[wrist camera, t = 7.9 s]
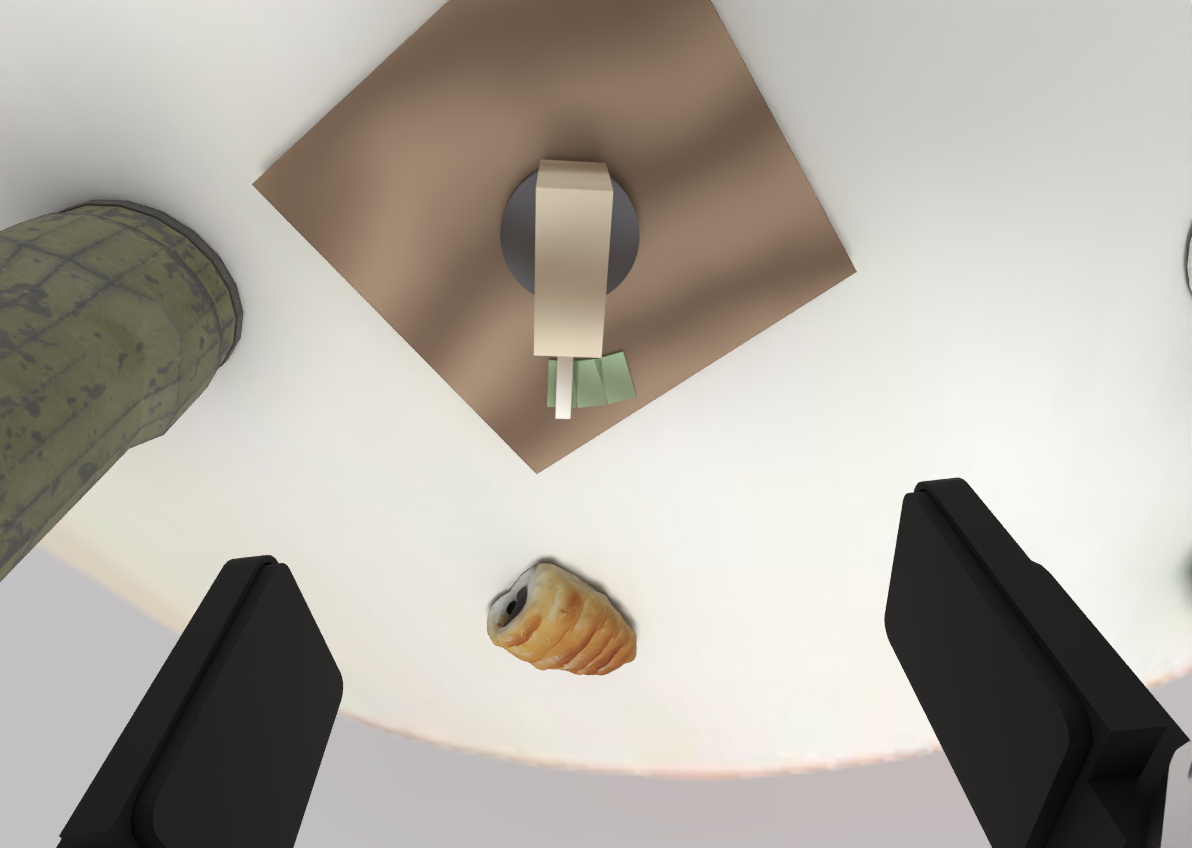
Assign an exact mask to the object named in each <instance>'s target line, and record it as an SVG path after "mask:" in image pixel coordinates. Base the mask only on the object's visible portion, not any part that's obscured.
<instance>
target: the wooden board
mask: <svg viewBox="0 0 1192 848" xmlns="http://www.w3.org/2000/svg"><path fill="white" fill-rule="evenodd" d="M540 159H543V160H561V161H579V162H597V163H606V164H607V168H608V172H609V175H610V176H612V177H613V178H614V179H615V180H616V181H617V182H618V183H619V184H620V185H621V186H622V187H623V189H624V190H625V191H626V193H627V194H628V196H629V198H630V200H631V202H632V205H633V207H634V210H635V213H636V216H637V220H638V224H639V234H640V235H639V248H638V253H637V256H636V260H635V262H634V264H633V267H632V269H631V270H630V272H629V274H628V275H627V277H626V278H625V279H624V280H623V282H622V283H621V284H620V285H619V286H618V287H617V288H616V289H614V290H613V291H612V292H610V293H609V294H607V295H606V302H605V316H604V330H603V344H602V358H591V357H573V374H572V395H571V416H570V419H555V416H556V385H557V356H536V355H534V302H535V295H533V294H532V293H530V292H529V291H527V290H526V289H525V288H524V287H523V286H522V285H521V284H520V283H519V282H518V281H517V280H516V279H515V278H514V276H513V275H512V273H511V272H510V270H509V268H508V266H507V264H506V262H505V259H504V256H503V253H502V249H501V242H500V228H501V222H502V217H503V214H504V210H505V207H506V204H507V202H508V200H509V198H510V196H511V194H512V192H513V191H514V189H515V188H516V187H517V186H518V184H519V183H520V182H521V181H522V180H523V179H524V178H525V177H527V176H528V175H529V174H531V173H532V172H534V171H535V170H537V169H539V164H540ZM252 185H253V186H254V187H255V188H256V189H257V190H258V191H259V192H260V193H261V194H262V195H263V196H264V197H265V198H266V199H267V200H268V201H269V202H270V203H271V204H272V205H273V206H274V207H275V208H276V209H277V210H278V211H279V212H280V214H281V215H282V216H283V217H284V218H285V219H286V220H287V221H288V222H289V223H290V224H291V225H292V226H293V227H294V228H295V229H296V230H297V231H298V232H299V233H300V234H301V235H302V236H303V237H304V238H305V239H306V240H307V241H308V242H309V243H310V244H311V245H312V246H313V247H314V248H315V249H316V250H317V251H318V252H319V253H320V254H321V255H322V256H323V257H324V258H325V259H326V260H327V261H328V262H329V263H330V264H331V265H332V266H333V267H334V268H335V269H336V270H337V271H338V273H339V274H340V275H341V276H342V277H343V278H344V279H345V280H346V281H347V282H348V283H349V284H350V285H351V286H352V287H353V288H354V289H355V290H356V291H357V292H358V293H359V294H360V295H361V296H362V297H363V298H364V299H365V300H366V301H367V302H368V303H369V304H370V305H371V306H372V307H373V308H374V309H375V310H376V311H377V312H378V313H379V314H380V315H381V316H382V317H383V318H384V319H385V320H386V321H387V322H388V323H389V324H390V325H391V326H392V327H393V328H394V329H395V331H396V332H397V333H398V334H399V335H400V336H401V337H402V338H403V339H404V340H405V341H406V342H407V343H408V344H409V345H410V346H411V347H412V348H413V349H414V350H415V351H416V352H417V353H418V354H419V355H420V356H421V357H422V358H423V359H424V360H425V361H426V362H427V363H428V364H429V365H430V366H431V367H432V368H433V369H434V370H435V371H436V372H437V373H438V374H439V375H440V376H441V377H442V378H443V379H444V380H445V381H446V382H447V383H448V384H449V385H450V386H451V387H452V388H453V390H454V391H455V392H456V393H457V394H458V395H459V396H460V397H461V398H462V399H463V400H464V401H465V402H466V403H467V404H468V405H469V406H470V407H471V408H472V409H473V410H474V411H475V412H476V413H477V414H478V415H479V416H480V417H481V418H482V419H483V420H484V421H485V422H486V423H487V424H488V425H489V426H490V427H491V428H492V429H493V430H494V431H495V432H496V433H497V434H498V435H499V436H500V437H501V438H502V439H503V440H504V441H505V442H506V443H507V444H508V445H509V446H510V447H511V449H512V450H513V451H514V452H515V453H516V454H517V455H518V456H519V457H520V458H521V459H522V460H523V461H524V462H525V463H526V464H527V465H528V466H529V467H530V468H531V469H532V470H533V471H534V472H535V473H536V474H538V473H540V472H541V471H543V470H544V469H546V468H547V467H549V466H551V465H552V464H554V463H555V462H557V461H558V460H560V459H562V458H563V457H565V456H566V455H568V454H570V453H571V452H573V451H574V450H576V449H577V448H579V447H581V446H582V445H584V444H585V443H587V442H588V441H590V440H592V439H593V438H595V437H596V436H598V435H600V434H601V433H603V432H604V431H606V430H607V429H609V428H611V427H612V426H614V425H615V424H617V423H618V422H620V421H622V420H623V419H625V418H626V417H628V416H630V415H631V414H633V413H634V412H636V411H637V410H639V409H641V408H642V407H644V406H645V405H647V404H648V403H650V402H652V401H653V400H655V399H656V398H658V397H660V396H661V395H663V394H664V393H666V392H667V391H669V390H671V389H672V388H674V387H675V386H677V385H679V384H680V383H682V382H683V381H685V380H686V379H688V378H690V377H691V376H693V375H694V374H696V373H697V372H699V371H701V370H702V369H704V368H705V367H707V366H709V365H710V364H712V363H713V362H715V361H716V360H718V359H720V358H721V357H723V356H724V355H726V354H727V353H729V352H731V351H732V350H734V349H735V348H737V347H739V346H740V345H742V344H743V343H745V342H746V341H748V340H750V339H751V338H753V337H754V336H756V335H757V334H759V333H761V332H762V331H764V330H765V329H767V328H769V327H770V326H772V325H773V324H775V323H776V322H778V321H780V320H781V319H783V318H784V317H786V316H787V315H789V314H791V313H792V312H794V311H795V310H797V309H799V308H800V307H802V306H803V305H805V304H806V303H808V302H810V301H811V300H813V299H814V298H816V297H817V296H819V295H821V294H822V293H824V292H825V291H827V290H829V289H830V288H832V287H833V286H835V285H836V284H838V283H840V282H841V281H843V280H844V279H846V278H848V277H849V276H851V275H852V274H854V273H855V272H857V271H856V269H855V268H854V266H853V264H852V262H851V260H850V258H849V256H848V255H847V253H846V251H845V249H844V247H843V245H842V243H841V242H840V240H839V238H838V236H837V234H836V232H835V230H834V229H833V227H832V225H831V223H830V221H829V219H828V217H827V216H826V214H825V212H824V210H823V208H822V206H821V204H820V203H819V201H818V199H817V197H816V195H815V193H814V191H813V190H812V188H811V186H810V184H809V182H808V180H807V178H806V177H805V175H804V173H803V171H802V169H801V167H800V165H799V164H798V162H797V160H796V158H795V156H794V154H793V152H792V151H791V149H790V147H789V145H788V143H787V141H786V139H785V138H784V136H783V134H782V132H781V130H780V128H779V126H778V125H777V123H776V121H775V119H774V117H773V115H772V113H771V112H770V110H769V108H768V106H767V104H766V102H765V101H764V99H763V97H762V95H761V93H760V91H759V89H758V88H757V86H756V84H755V82H754V80H753V78H752V76H751V75H750V73H749V71H748V69H747V67H746V65H745V63H744V62H743V60H742V58H741V56H740V54H739V52H738V50H737V49H736V47H735V45H734V43H733V41H732V39H731V37H730V36H729V34H728V32H727V30H726V28H725V26H724V24H723V23H722V21H721V19H720V17H719V15H718V13H717V11H716V10H715V8H714V6H713V4H712V2H711V0H449V1H448V2H447V3H446V4H445V5H444V6H443V7H442V8H441V9H440V10H438V11H437V12H436V13H435V14H434V15H433V16H432V17H431V18H430V19H429V20H428V21H427V22H426V23H425V24H423V25H422V26H421V27H420V28H419V29H418V30H417V31H416V32H415V33H414V34H413V35H412V36H411V37H409V38H408V39H407V40H406V41H405V42H404V43H403V44H402V45H401V46H400V47H399V48H398V49H397V50H396V51H394V52H393V53H392V54H391V55H390V56H389V57H388V58H387V59H386V60H385V61H384V62H383V63H382V64H381V65H379V66H378V67H377V68H376V69H375V70H374V71H373V72H372V73H371V74H370V75H369V76H368V77H367V78H366V79H364V80H363V81H362V82H361V83H360V84H359V85H358V86H357V87H356V88H355V89H354V90H353V91H352V92H351V93H349V94H348V95H347V96H346V97H345V98H344V99H343V100H342V101H341V102H340V103H339V104H338V105H337V106H335V107H334V108H333V109H332V110H331V111H330V112H329V113H328V114H327V115H326V116H325V117H324V118H323V119H322V120H320V121H319V122H318V123H317V124H316V125H315V126H314V127H313V128H312V129H311V130H310V131H309V132H308V133H307V134H305V135H304V136H303V137H302V138H301V139H300V140H299V141H298V142H297V143H296V144H295V145H294V146H293V147H292V148H290V149H289V150H288V151H287V152H286V153H285V154H284V155H283V156H282V157H281V158H280V159H279V160H278V161H277V162H275V163H274V164H273V165H272V166H271V167H270V168H269V169H268V170H267V171H266V172H265V173H264V174H263V175H262V176H260V177H259V178H258V179H257V180H256V181H255V182H254V183H253V184H252Z"/></svg>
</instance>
